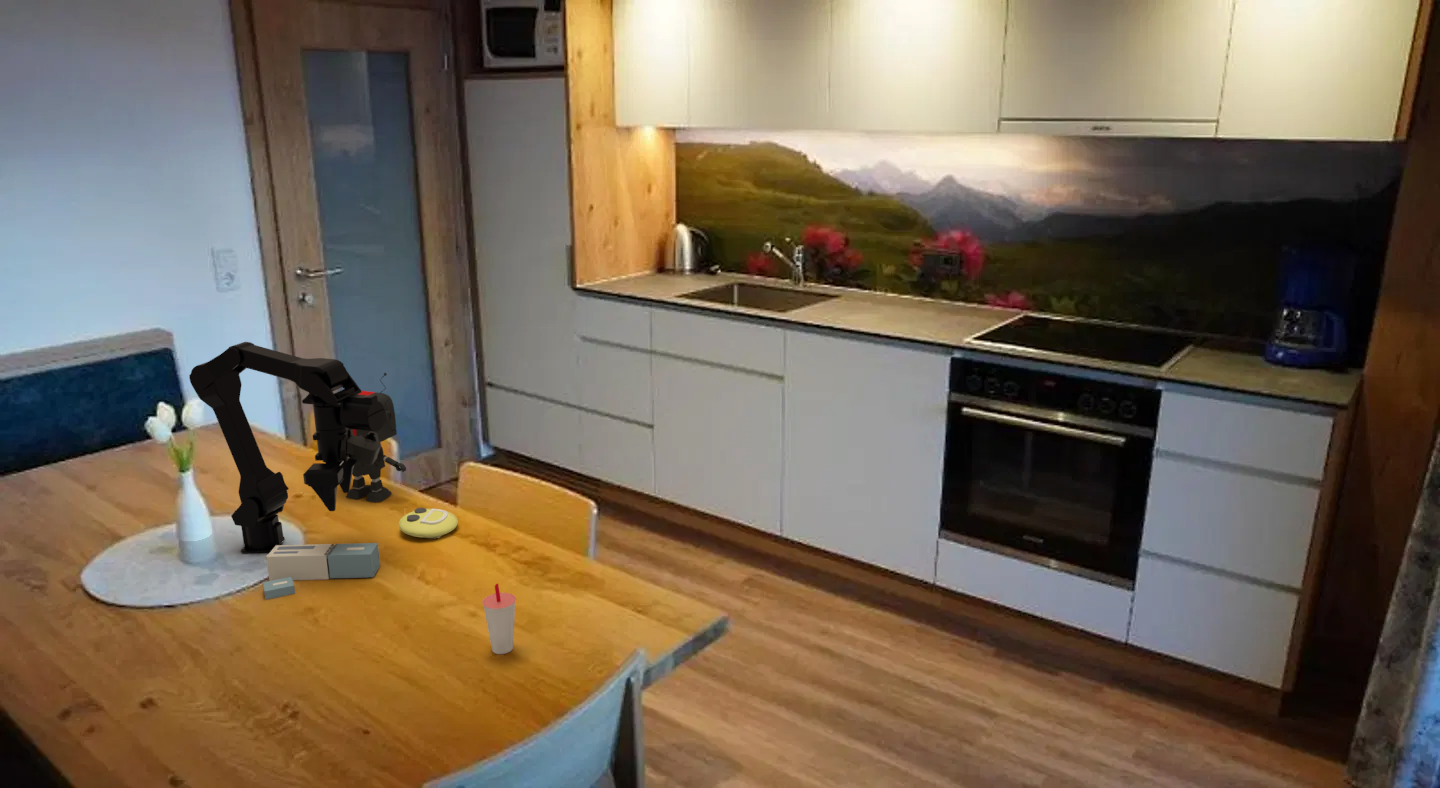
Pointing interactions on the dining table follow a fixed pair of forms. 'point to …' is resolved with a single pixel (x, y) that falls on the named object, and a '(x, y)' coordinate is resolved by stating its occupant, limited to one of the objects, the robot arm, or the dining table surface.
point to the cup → (500, 620)
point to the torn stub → (278, 588)
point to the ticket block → (299, 562)
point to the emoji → (428, 523)
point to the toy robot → (374, 471)
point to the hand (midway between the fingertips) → (339, 501)
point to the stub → (354, 560)
